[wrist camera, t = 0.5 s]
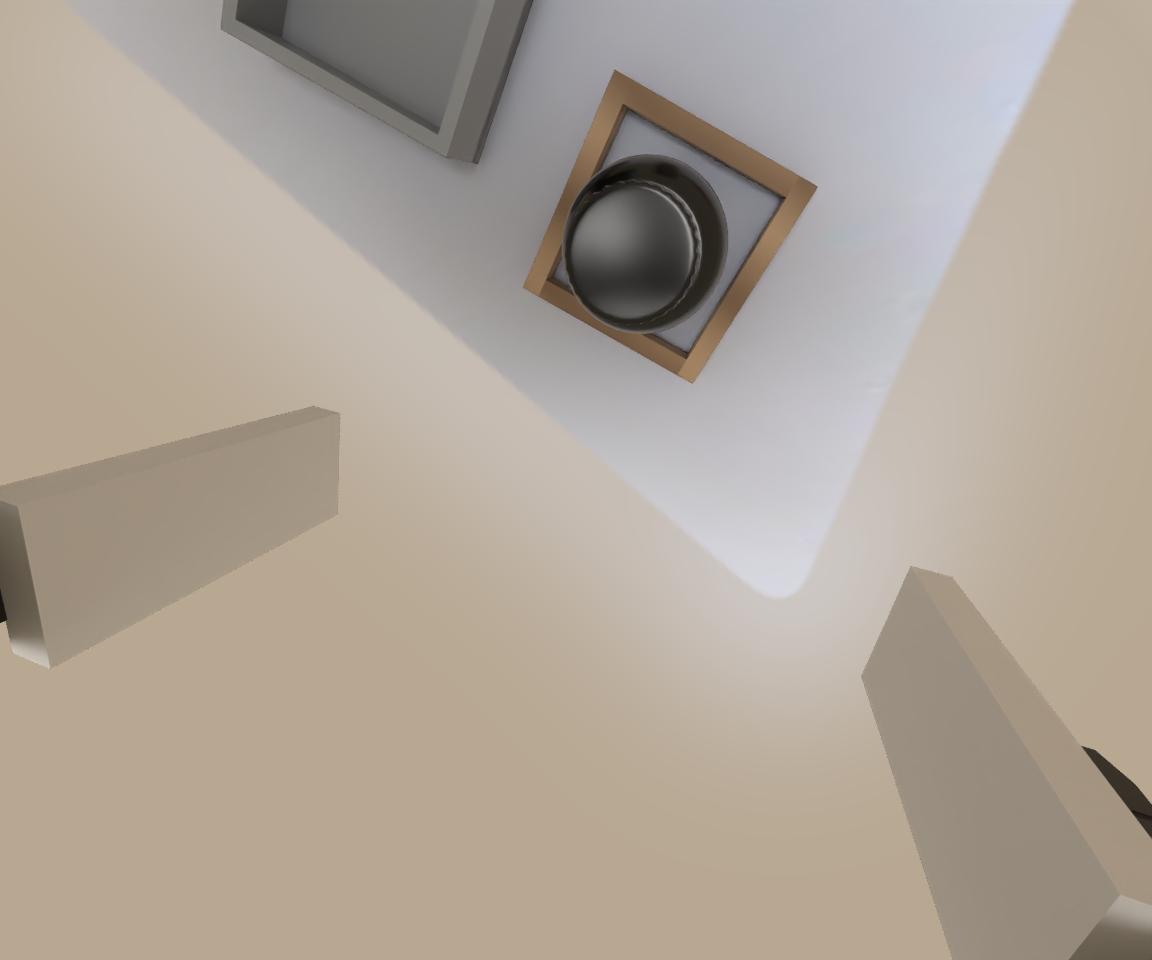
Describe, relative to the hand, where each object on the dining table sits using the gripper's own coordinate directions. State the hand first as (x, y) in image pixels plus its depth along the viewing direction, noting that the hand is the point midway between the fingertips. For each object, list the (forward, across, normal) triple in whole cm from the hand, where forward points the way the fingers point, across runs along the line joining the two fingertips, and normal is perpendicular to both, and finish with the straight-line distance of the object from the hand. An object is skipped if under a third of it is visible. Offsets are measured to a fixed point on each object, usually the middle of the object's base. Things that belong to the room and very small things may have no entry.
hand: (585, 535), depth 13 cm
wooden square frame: (+21, -3, +8) cm, 23 cm away
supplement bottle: (+22, -3, +8) cm, 23 cm away
